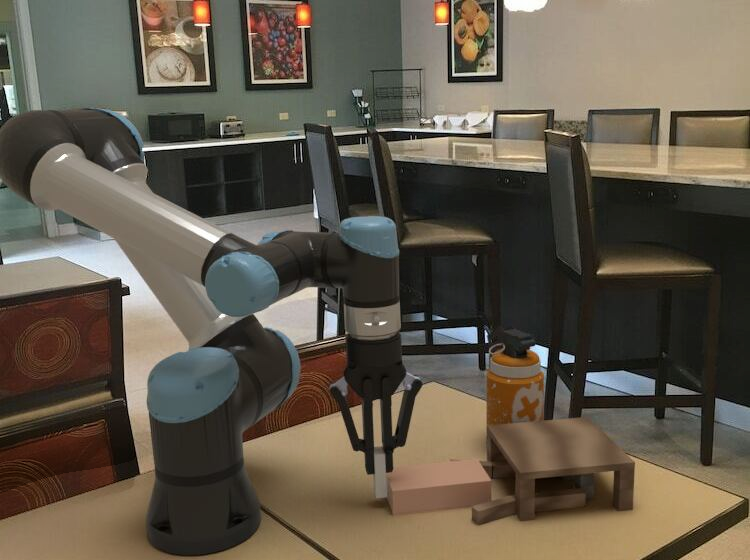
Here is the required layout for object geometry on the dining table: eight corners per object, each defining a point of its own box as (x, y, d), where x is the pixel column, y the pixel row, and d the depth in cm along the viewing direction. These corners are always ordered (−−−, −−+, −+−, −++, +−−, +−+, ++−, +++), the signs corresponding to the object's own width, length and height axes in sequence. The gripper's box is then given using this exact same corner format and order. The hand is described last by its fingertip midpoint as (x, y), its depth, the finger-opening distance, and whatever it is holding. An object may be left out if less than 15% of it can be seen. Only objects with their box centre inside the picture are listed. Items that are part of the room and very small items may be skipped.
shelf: (474, 525, 105) (474, 477, 104) (447, 471, 121) (446, 428, 119) (632, 509, 108) (635, 462, 107) (586, 458, 124) (587, 416, 122)
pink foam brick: (393, 517, 109) (392, 491, 108) (384, 493, 116) (383, 468, 115) (491, 506, 111) (491, 480, 110) (477, 483, 118) (477, 458, 117)
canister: (506, 464, 123) (507, 341, 118) (469, 438, 132) (469, 323, 128) (553, 453, 126) (556, 332, 122) (514, 428, 136) (515, 316, 132)
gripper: (326, 344, 102) (336, 511, 107) (426, 336, 104) (431, 501, 109) (322, 328, 109) (332, 485, 114) (415, 321, 111) (420, 476, 116)
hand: (380, 493), depth 111 cm, fingers closed
